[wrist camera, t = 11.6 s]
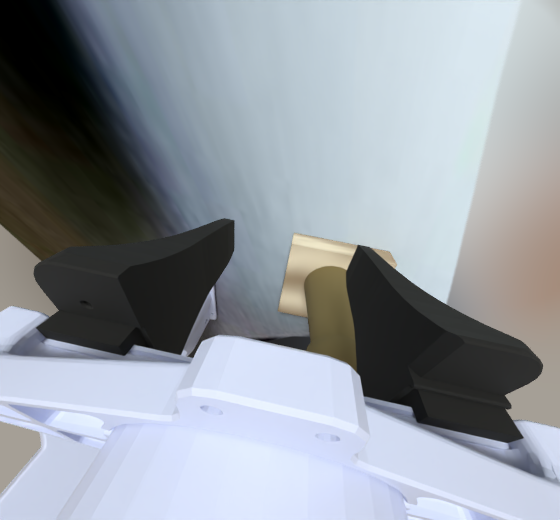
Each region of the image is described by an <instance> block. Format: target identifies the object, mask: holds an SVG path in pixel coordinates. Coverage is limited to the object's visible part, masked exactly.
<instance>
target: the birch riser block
mask: <svg viewBox="0 0 560 520" xmlns="http://www.w3.org/2000/svg"><path fill="white" fill-rule="evenodd" d="M357 246H358V245H353V244H348V243H343V242H338V241H333V240H328V239H323V238H318V237H313V236H307V235H302V234H297V233H294V235H293V240H292V245H291V250H290V254H289V259H288V264H287V269H286V274H285V279H284V283H283V288H282V293H281V298H280V303H279V308H278V311H279V312H283V313H288V314H293V315H297V316H302V317H307V318H308V315H307V307H306V298H305V290H304V282H305V279H306V277H307V276H308V275H309V273H311V272H312V271H314V270H315V269H318V268H321V267H324V266H336V267H341V268H343V269H346V270H347V269H348V266H349V264H350V262H351V260H352V257H353V255H354V253H355V251H356V248H357ZM371 249H372V250H374V251H375V252H376V253H377V254H378V255H380V256H381V257H382V258H383V259H384V260H385V261H386V262H387V263H389V264H390V265H391V266H392V267H393V268H394V269H395V267H396V266H397V264H396V262H395V260H394V258H393V257H392V255H391V253H390V252H388V251H383V250H378V249H373V248H371Z"/></svg>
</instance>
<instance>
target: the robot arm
mask: <svg viewBox="0 0 560 520" xmlns="http://www.w3.org/2000/svg"><path fill="white" fill-rule="evenodd" d="M233 252H234V220H230V219H225V218H224V219H220V220H217V221H214V222H212V223H209V224H207V225H204V226H201V227H199V228H196V229H193V230H190V231H187V232H184V233H181V234H177V235H174V236H170V237H165V238H161V239H156V240H150V241H144V242H138V243H130V244H120V245H107V246H83V247H69V248H67V249H65V250H63V251H61V252H59V253H57V254H55V255H53V256H51V257H49V258H47V259H45V260H43V261H41V262H39V263H38V264H37V265H36V266H35V268H34V277H35V280H36V282H37V283H38V285H39V286H40V288H41V289H42V290H43V291H44V293H45V294H46V295H47V296H48V297H49V299H50V300H51V301H52V302H53V303H54V305H55V306H56V307H57V309H58V310H59V311H58V312H56V313H55V314H54V315H52V316H51V317H49V316H48V315H46V314H44V313H41V312H38V311H34V310H29V309H25V308H20V307H16V306H10V307H8V308H6V309H5V310H3V311H2V312H0V421H1V422H5V423H9V424H12V425H16V426H20V427H23V428H27V429H31V430H34V431H37V432H39V433H40V438H41V447H40V449H39V450H38V451H37V452H36V453H35V454H34V456H33V457H32V458H31V459H30V460H29V461H28V463H27V464H26V465H25V466H24V467H23V468H22V470H21V471H20V472H19V473H18V474H17V475H16V477H15V478H14V479H13V480H12V481H11V483H10V484H9V485H8V486H7V487H6V488H5V490H4V491H3V492H2V493H1V494H0V520H560V428H558V427H555V426H550V425H546V424H541V423H537V422H532V421H528V420H512V419H511V417H510V416H509V414H508V413H507V411H506V410H505V409H511V404H510V403H509V401H508V400H507V398H506V397H505V395H506V394H508V393H510V392H512V391H514V390H516V389H519V388H521V387H523V386H525V385H527V384H529V383H530V382H532V381H534V380H535V379H537V378H538V376H539V375H540V374H541V372H542V369H543V364H542V362H541V361H540V359H539V358H538V357H537V356H536V355H535V354H534V353H533V352H532V351H531V350H530V349H529V347H528V346H526V344H524V343H523V342H522V341H520V340H518V339H516V338H514V337H511V336H509V335H507V334H505V333H503V332H500V331H498V330H496V329H493V328H491V327H489V326H487V325H484V324H482V323H480V322H478V321H476V320H474V319H472V318H470V317H468V316H466V315H464V314H462V313H460V312H459V311H457V310H455V309H453V308H451V307H449V306H448V305H446V304H444V303H443V302H441V301H439V300H437V299H436V298H434V297H433V296H431V295H429V294H428V293H426V292H425V291H423V290H422V289H420V288H419V287H418V286H416V285H415V284H413V283H412V282H411V281H409V280H408V279H407V278H405V277H404V276H403V275H402V274H400V273H399V272H398V271H397V270H396V269H394V268H393V267H392V266H391V265H390V264H389V263H387V262H386V261H385V260H384V259H383V258H382V257H381V256H380V255H378V254H377V253H376V252H375V251H374V250H372V249H371V248H370V247H366V246H361V245H358V246H357V248H356V251H355V253H354V255H353V257H352V260H351V262H350V264H349V266H348V269H347V271H346V288H347V293H348V298H349V303H350V308H351V313H352V318H353V323H354V332H355V344H356V363H357V373H356V372H355V370H354V369H353V368H352V367H351V366H350V365H349V364H347V363H346V362H343V361H340V360H338V359H335V358H333V357H330V356H326V355H322V354H317V353H313V352H308V351H304V350H299V349H294V348H290V347H285V346H280V345H276V344H272V343H267V342H262V341H258V340H253V339H249V338H244V337H240V336H229V335H217V336H214V337H212V338H209V339H207V340H204V341H202V342H201V344H200V346H199V348H198V350H197V352H196V354H195V356H194V358H191V357H187V356H188V355H189V354H190V353H191V352H192V351H193V350H194V348H195V346H196V344H197V342H198V341H199V339H200V337H201V335H202V333H203V331H204V329H205V327H206V325H207V324H208V322H209V320H210V319H213V320H215V319H216V318H217V313H216V301H215V288H214V285H215V283H216V282H217V280H218V278H219V277H220V275H221V274H222V272H223V271H224V269H225V268H226V266H227V264H228V263H229V261H230V259H231V256H232V254H233Z"/></svg>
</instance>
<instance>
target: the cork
mask: <svg viewBox="0 0 560 520" xmlns="http://www.w3.org/2000/svg"><path fill="white" fill-rule="evenodd" d="M346 271H347V270H346V269H343V268H341V267H336V266H324V267H321V268H318V269H315V270H314V271H312V272H311V273H309V275H308V276H307V277H306V279H305V282H304V290H305V298H306V307H307V315H308V324H309V332H310V340H311V343H310V344H309V345H308V347H307V350H306V351H308V352H313V353H317V354H322V355H326V356H330V357H333V358H335V359H338V360H340V361H343V362H346V363H347V364H349V365H350V366H351V367H352V368H353V369H354V370H355V372H356V373H357V363H356V344H355V332H354V323H353V318H352V313H351V308H350V303H349V298H348V293H347V288H346Z"/></svg>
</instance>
